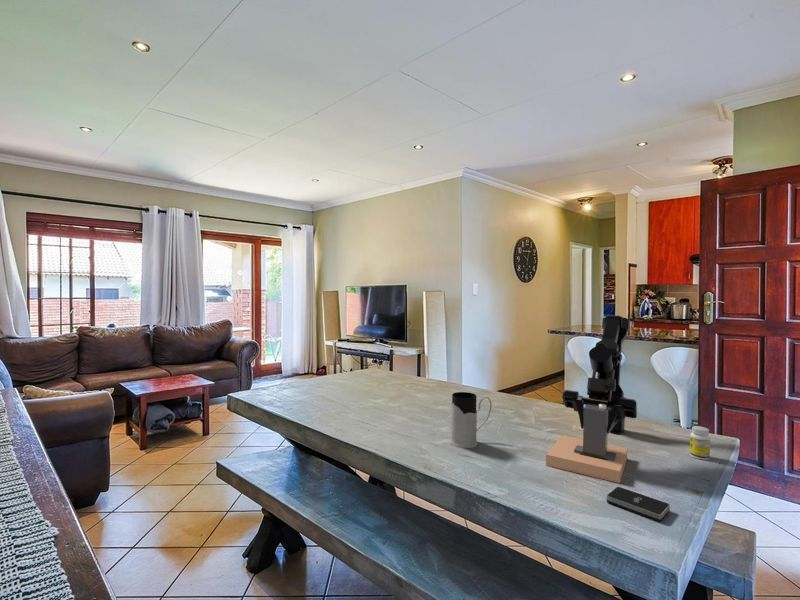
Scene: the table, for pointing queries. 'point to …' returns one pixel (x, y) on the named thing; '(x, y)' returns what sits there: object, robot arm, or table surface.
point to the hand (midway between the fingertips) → (594, 430)
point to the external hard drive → (638, 504)
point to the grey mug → (465, 419)
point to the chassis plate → (586, 460)
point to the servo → (595, 433)
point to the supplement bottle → (700, 443)
